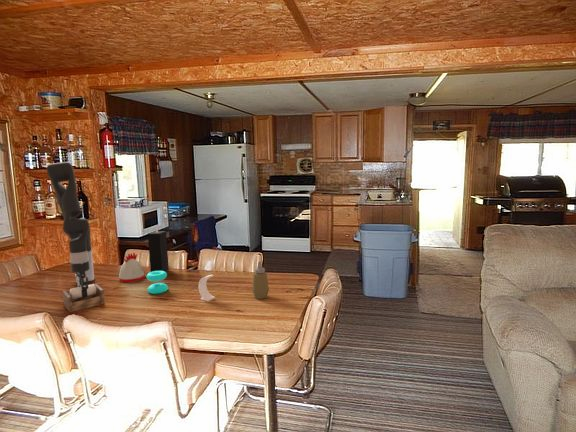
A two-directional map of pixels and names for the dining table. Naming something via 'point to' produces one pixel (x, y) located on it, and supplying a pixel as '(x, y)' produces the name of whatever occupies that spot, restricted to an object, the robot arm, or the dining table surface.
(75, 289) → the paper roll
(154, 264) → the black rectangular block
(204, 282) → the white curved piece
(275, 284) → the dining table surface
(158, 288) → the teal stacked discs
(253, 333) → the dining table surface
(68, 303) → the roll cradle
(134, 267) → the beanie hat
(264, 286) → the squeeze bottle
